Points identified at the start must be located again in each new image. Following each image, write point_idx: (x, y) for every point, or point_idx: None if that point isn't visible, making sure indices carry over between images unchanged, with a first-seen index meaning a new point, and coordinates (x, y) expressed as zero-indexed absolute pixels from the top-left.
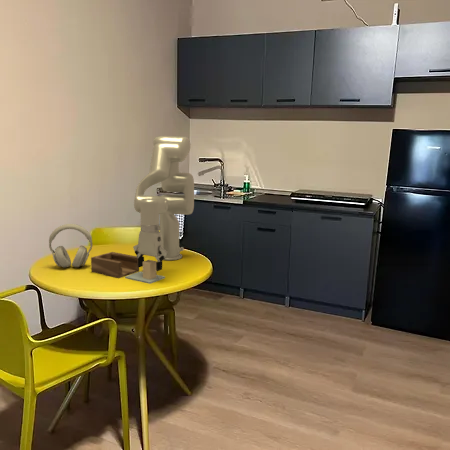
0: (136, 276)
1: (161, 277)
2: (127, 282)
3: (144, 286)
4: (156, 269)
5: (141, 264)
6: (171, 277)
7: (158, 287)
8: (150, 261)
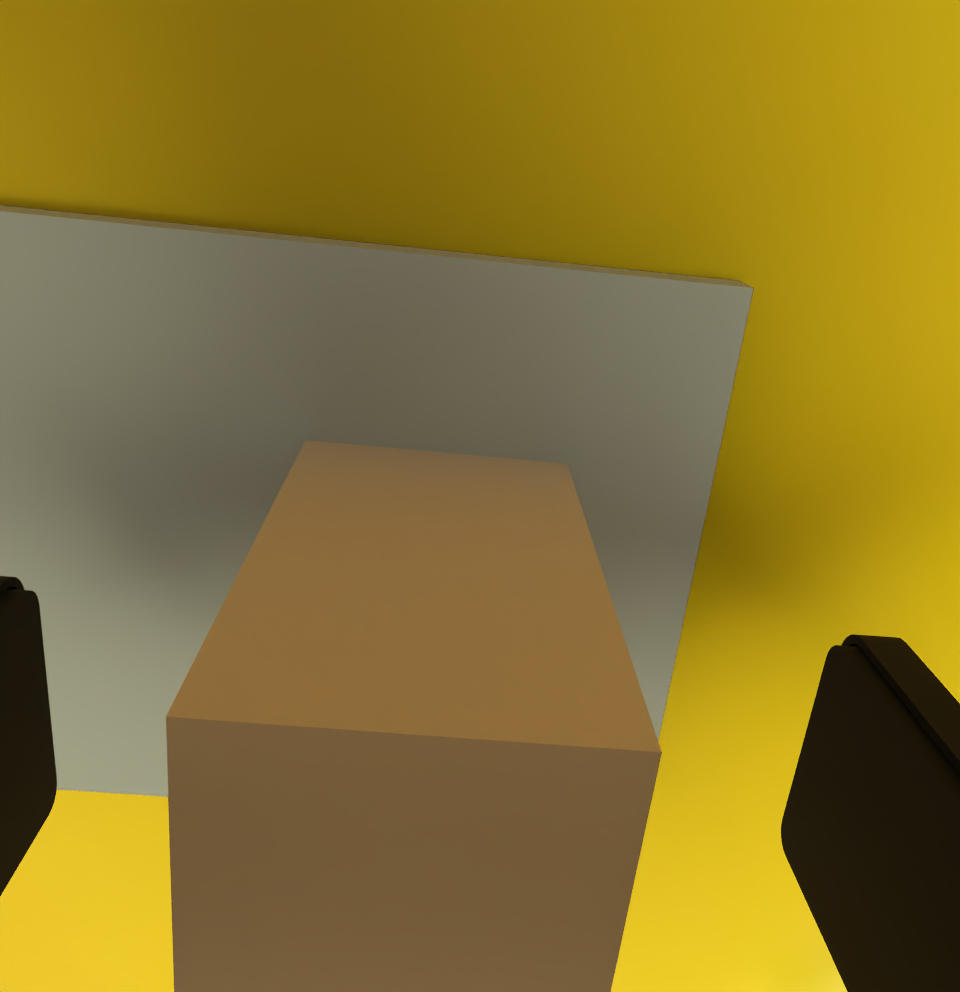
0: (80, 644)
1: (703, 411)
2: None
3: (625, 958)
4: (808, 881)
5: (17, 770)
6: (891, 127)
7: None
8: (440, 903)
